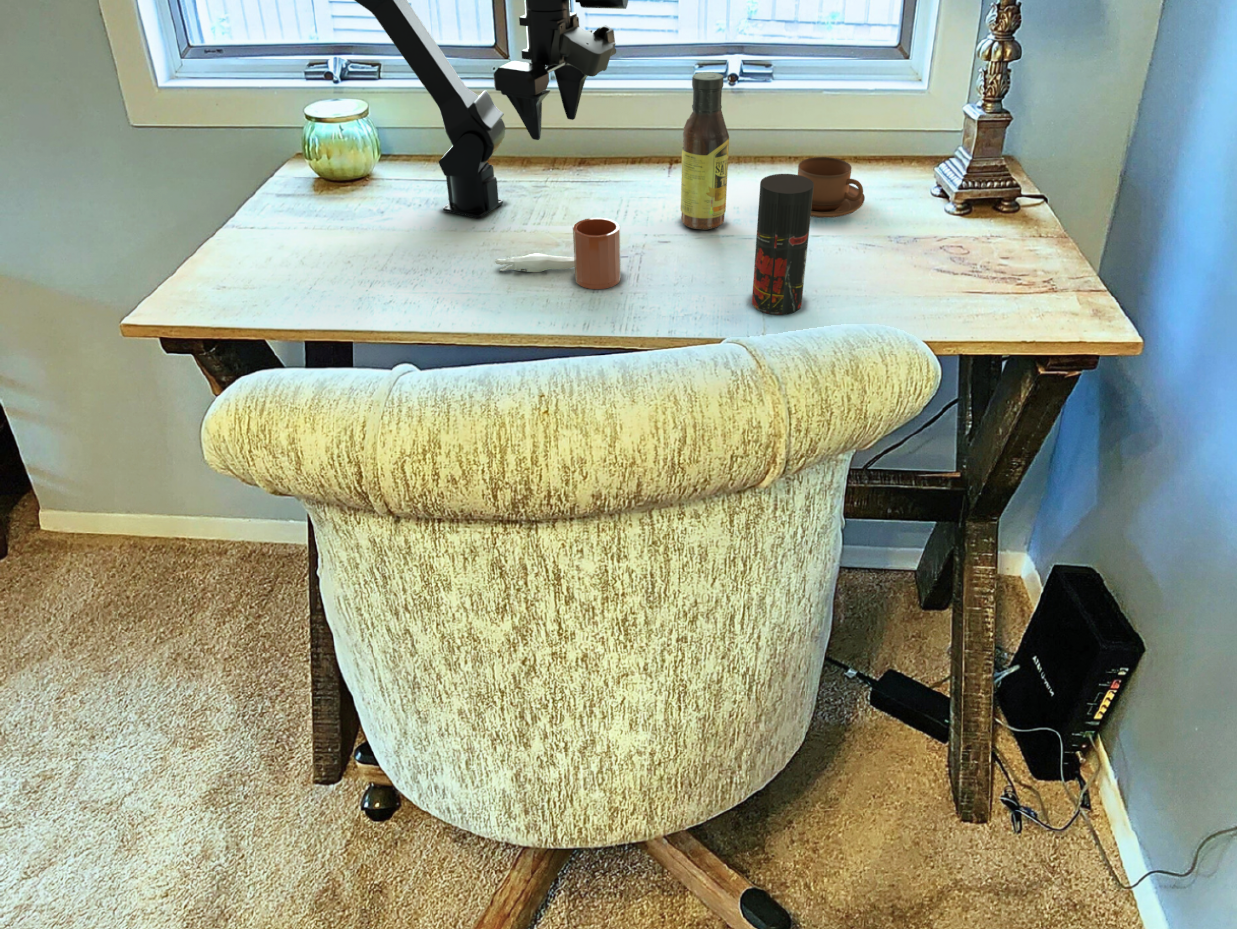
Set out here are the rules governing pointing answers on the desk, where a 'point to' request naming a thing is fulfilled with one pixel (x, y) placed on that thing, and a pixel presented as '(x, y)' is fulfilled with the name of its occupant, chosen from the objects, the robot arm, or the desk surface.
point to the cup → (597, 253)
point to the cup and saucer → (831, 187)
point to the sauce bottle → (705, 156)
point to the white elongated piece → (536, 262)
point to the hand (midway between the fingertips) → (554, 128)
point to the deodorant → (781, 243)
